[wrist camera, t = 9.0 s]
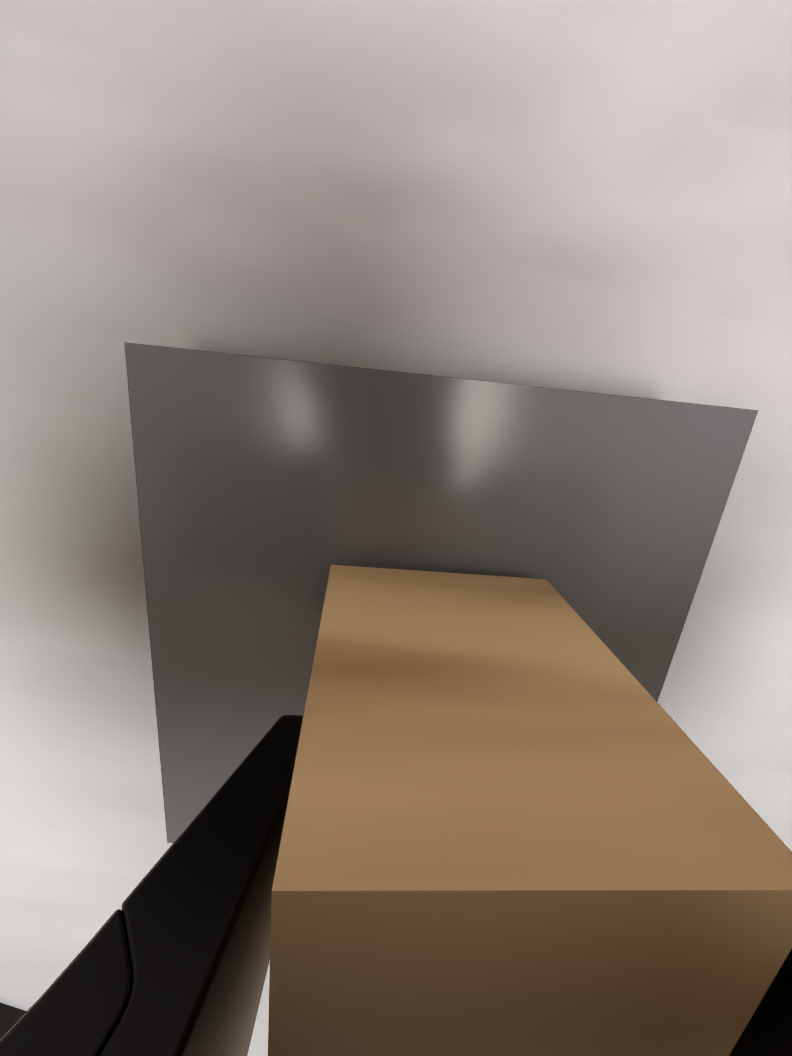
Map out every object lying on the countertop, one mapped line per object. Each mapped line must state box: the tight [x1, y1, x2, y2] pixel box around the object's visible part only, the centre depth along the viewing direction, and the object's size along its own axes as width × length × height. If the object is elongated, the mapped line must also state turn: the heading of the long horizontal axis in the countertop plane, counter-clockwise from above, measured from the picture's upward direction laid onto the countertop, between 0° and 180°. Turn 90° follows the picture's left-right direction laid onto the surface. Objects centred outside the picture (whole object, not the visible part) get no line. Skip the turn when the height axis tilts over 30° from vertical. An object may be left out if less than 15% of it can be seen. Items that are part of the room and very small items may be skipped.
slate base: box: [125, 343, 758, 843], centre depth 12 cm, size 12×12×3 cm
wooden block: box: [268, 565, 792, 1056], centre depth 7 cm, size 4×4×6 cm
